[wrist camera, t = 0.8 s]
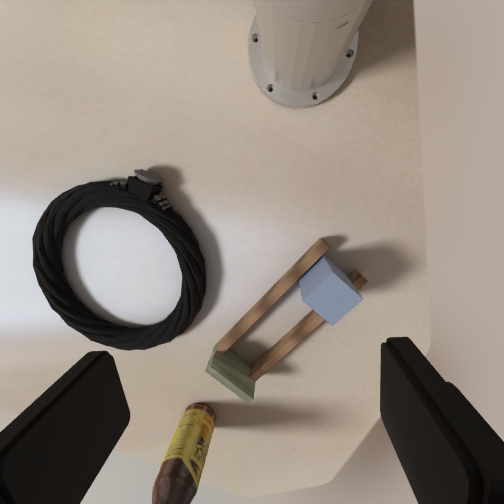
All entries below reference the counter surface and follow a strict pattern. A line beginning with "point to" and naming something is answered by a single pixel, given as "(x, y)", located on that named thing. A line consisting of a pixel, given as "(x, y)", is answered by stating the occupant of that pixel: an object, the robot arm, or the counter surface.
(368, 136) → the counter surface
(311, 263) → the track
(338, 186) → the counter surface
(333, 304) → the block
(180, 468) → the sauce bottle
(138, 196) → the cable lock
